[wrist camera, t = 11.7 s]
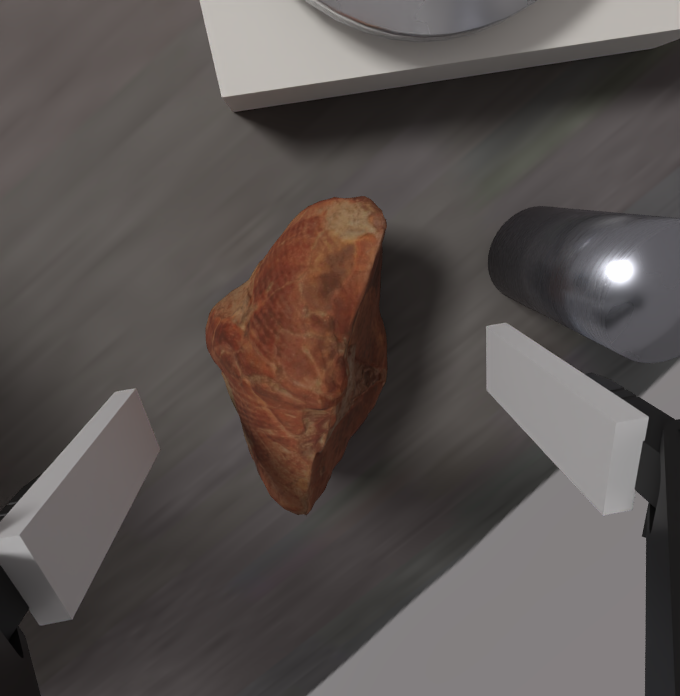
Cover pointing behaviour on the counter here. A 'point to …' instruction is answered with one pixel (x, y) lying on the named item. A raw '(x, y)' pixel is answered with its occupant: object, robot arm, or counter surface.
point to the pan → (421, 16)
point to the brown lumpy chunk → (306, 346)
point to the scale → (409, 47)
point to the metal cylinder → (596, 275)
